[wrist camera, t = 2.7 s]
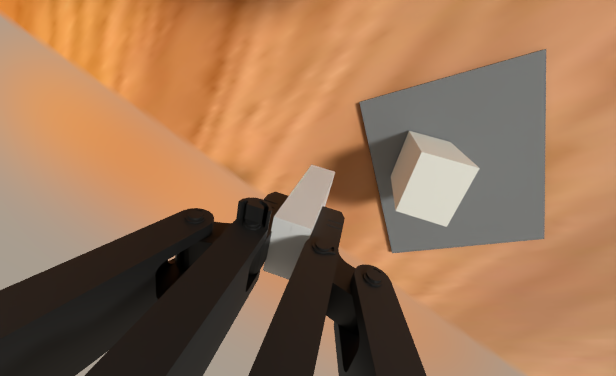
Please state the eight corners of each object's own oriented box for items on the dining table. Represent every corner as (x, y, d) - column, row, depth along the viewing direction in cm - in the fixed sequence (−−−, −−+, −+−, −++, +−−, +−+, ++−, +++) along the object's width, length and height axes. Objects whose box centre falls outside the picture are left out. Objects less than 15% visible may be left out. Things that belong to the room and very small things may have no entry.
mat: (359, 101, 26) (359, 102, 26) (543, 49, 21) (546, 49, 21) (392, 251, 32) (392, 253, 31) (541, 236, 27) (544, 238, 27)
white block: (390, 175, 28) (395, 210, 21) (408, 130, 26) (421, 151, 18) (428, 186, 27) (446, 226, 20) (450, 141, 25) (479, 168, 18)
